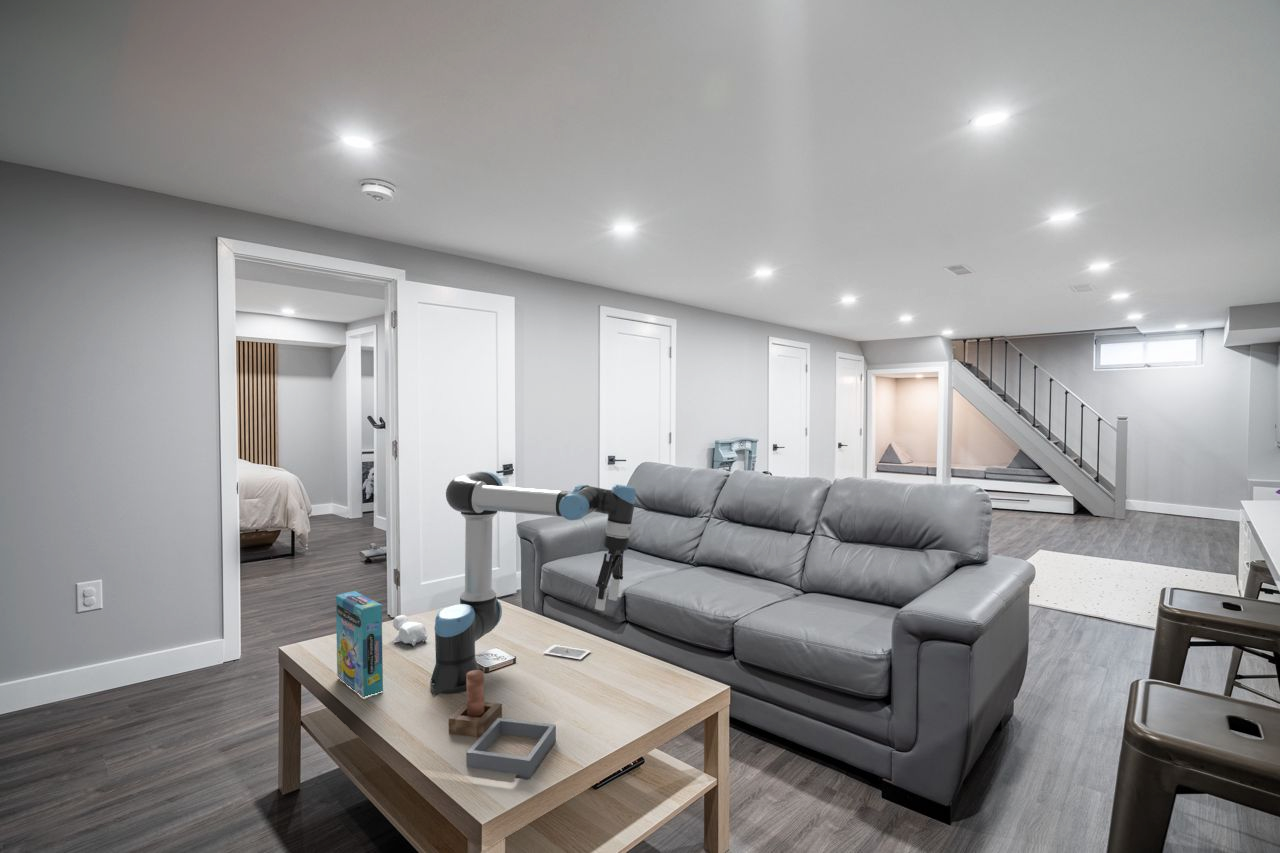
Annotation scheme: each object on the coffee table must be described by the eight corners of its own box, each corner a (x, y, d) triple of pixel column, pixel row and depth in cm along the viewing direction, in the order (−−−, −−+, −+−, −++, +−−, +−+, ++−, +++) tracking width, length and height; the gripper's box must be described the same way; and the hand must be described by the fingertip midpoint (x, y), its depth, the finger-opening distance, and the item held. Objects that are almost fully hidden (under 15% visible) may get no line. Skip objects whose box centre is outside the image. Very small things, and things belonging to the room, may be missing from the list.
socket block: (448, 737, 153) (448, 718, 153) (468, 717, 162) (468, 700, 162) (484, 741, 150) (483, 722, 150) (502, 721, 160) (501, 703, 160)
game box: (336, 679, 187) (334, 595, 187) (356, 673, 192) (354, 590, 191) (362, 700, 173) (360, 609, 173) (384, 692, 178) (382, 603, 177)
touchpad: (554, 647, 212) (554, 641, 212) (591, 653, 206) (591, 647, 206) (542, 655, 205) (542, 649, 205) (580, 662, 199) (580, 656, 199)
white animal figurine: (427, 648, 220) (403, 626, 227) (432, 628, 218) (408, 607, 225) (407, 656, 213) (383, 633, 220) (412, 636, 211) (388, 614, 218)
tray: (466, 770, 138) (466, 752, 138) (498, 734, 154) (498, 717, 154) (529, 779, 134) (529, 760, 134) (556, 741, 150) (555, 724, 150)
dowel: (464, 729, 155) (463, 676, 154) (472, 720, 159) (471, 669, 159) (479, 731, 154) (478, 677, 153) (487, 722, 158) (486, 670, 158)
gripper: (617, 543, 168) (605, 617, 167) (638, 533, 192) (628, 598, 192) (593, 538, 170) (581, 611, 169) (616, 529, 194) (606, 593, 193)
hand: (606, 604), depth 180 cm, fingers open, 13 cm apart
